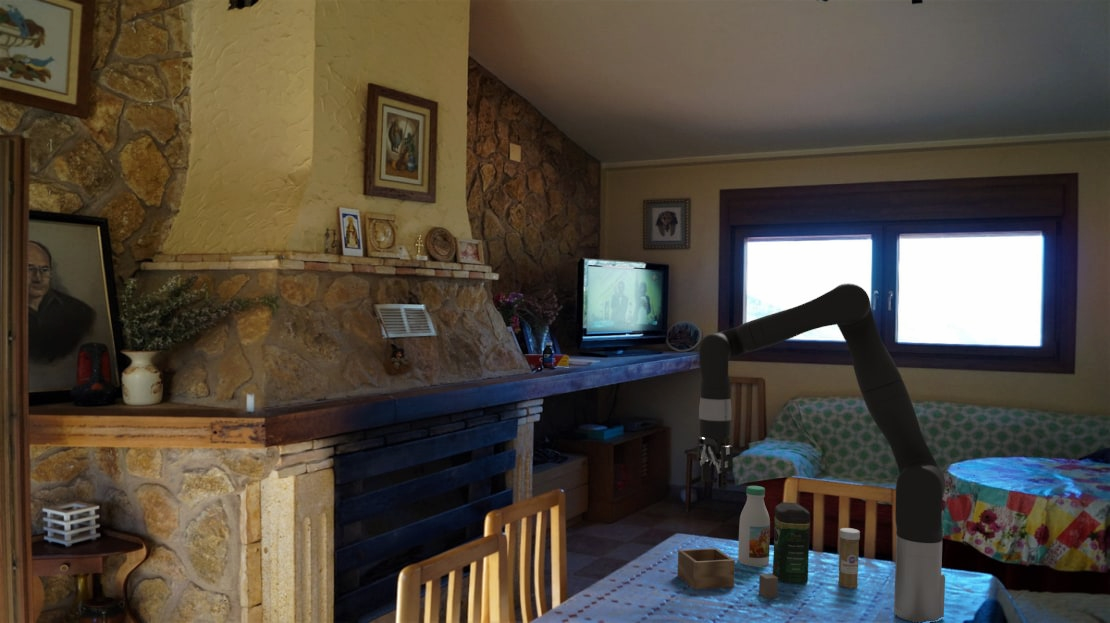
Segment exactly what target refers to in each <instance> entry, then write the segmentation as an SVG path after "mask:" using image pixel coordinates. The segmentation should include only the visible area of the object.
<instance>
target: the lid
mask: <svg viewBox="0 0 1110 623" xmlns="http://www.w3.org/2000/svg"><path fill="white" fill-rule="evenodd" d="M758 578H759V580H758V594H759V595H760V596H762V597H763V598H764V599H775V598H778V590H779V589H778V588H779V585H778V584H779V581H778V577H776V576H774V575H773V573H760V574H759V577H758ZM798 604H799V605H800V606H802V604H801V603H800V602H799V603H798Z"/></svg>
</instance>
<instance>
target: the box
mask: <svg viewBox="0 0 1110 623" xmlns="http://www.w3.org/2000/svg"><path fill="white" fill-rule="evenodd" d="M735 561H736V560H735V559H734V558H732V557H731V556H729V555H728V554H726V553H724V552H723V551H722V550H720V549H718V548H717V547H714V548H713V547H712V548H708V547H707V548H695V549H694V548H692V549H691V548H690V549H678V550H677V577H678V578H680V580H682V581H684V583H686V584H687V585H688V586H689V587H690V588H692V589H693V590H707V589H721V588H723V589H724V588H735V572H736V571H735V569H736V568H735V566H736V565H735V564H736V562H735Z"/></svg>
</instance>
